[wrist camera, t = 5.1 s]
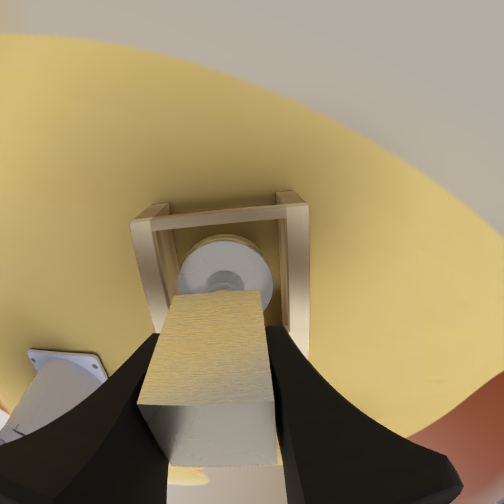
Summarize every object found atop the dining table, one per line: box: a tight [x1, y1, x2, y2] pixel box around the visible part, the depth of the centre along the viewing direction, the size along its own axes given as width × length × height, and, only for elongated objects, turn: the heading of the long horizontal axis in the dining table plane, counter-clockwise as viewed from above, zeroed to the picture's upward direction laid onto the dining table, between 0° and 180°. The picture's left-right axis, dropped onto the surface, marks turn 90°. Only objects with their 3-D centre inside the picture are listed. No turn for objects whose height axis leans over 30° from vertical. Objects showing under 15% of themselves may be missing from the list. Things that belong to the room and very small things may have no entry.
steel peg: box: [137, 234, 277, 467], centre depth 11 cm, size 4×4×9 cm
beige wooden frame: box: [129, 191, 310, 360], centre depth 17 cm, size 16×8×4 cm, turn 5°
